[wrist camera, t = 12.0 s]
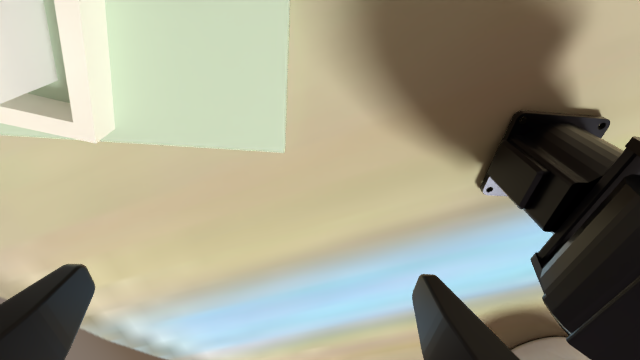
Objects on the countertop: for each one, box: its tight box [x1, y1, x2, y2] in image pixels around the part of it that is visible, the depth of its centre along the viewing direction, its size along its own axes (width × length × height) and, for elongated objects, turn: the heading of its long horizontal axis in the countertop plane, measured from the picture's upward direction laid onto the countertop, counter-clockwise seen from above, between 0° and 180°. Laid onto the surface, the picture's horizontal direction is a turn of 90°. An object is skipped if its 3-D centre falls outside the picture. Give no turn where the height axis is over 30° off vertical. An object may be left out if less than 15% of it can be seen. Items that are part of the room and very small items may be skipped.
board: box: [0, 0, 290, 153], centre depth 15 cm, size 20×15×1 cm
